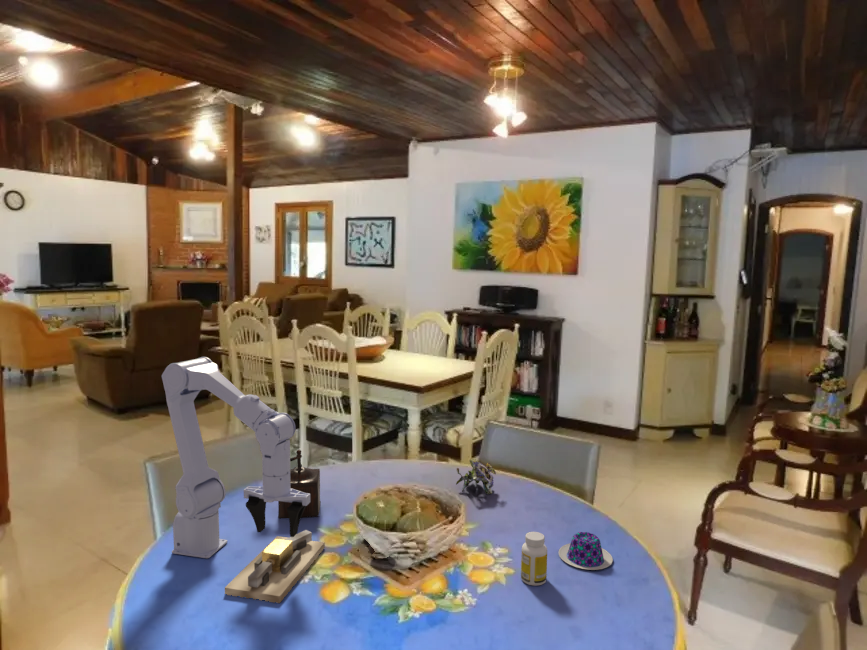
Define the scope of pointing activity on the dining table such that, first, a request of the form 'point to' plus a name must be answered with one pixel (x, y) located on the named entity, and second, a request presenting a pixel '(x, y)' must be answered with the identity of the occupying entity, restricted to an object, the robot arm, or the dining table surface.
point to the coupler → (278, 553)
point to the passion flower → (479, 476)
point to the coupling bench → (276, 585)
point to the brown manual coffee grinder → (303, 488)
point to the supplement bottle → (534, 559)
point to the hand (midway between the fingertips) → (277, 532)
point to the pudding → (585, 552)
